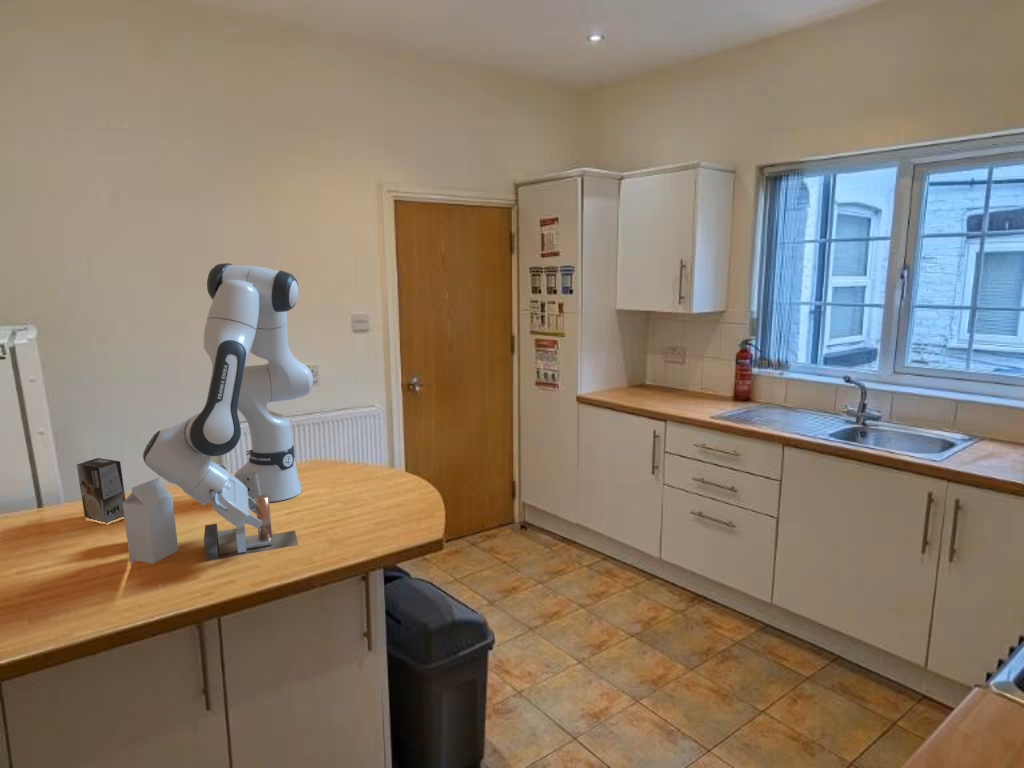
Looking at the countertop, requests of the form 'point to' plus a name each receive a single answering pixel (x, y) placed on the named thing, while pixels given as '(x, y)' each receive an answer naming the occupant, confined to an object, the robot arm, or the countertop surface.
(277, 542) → the base
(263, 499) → the press handle
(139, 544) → the milk carton
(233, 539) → the block
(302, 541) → the countertop surface
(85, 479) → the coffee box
